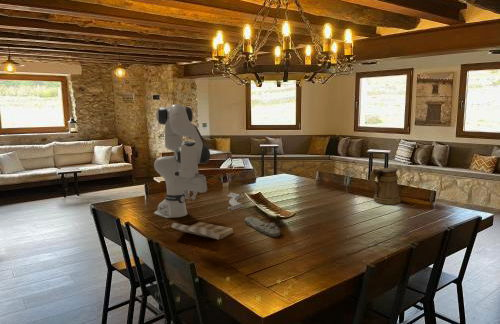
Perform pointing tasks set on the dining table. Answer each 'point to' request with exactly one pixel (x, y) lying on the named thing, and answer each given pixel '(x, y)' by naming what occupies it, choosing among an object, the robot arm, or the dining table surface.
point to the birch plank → (195, 231)
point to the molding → (235, 201)
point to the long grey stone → (263, 226)
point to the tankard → (385, 186)
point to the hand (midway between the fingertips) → (190, 198)
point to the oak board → (214, 229)
